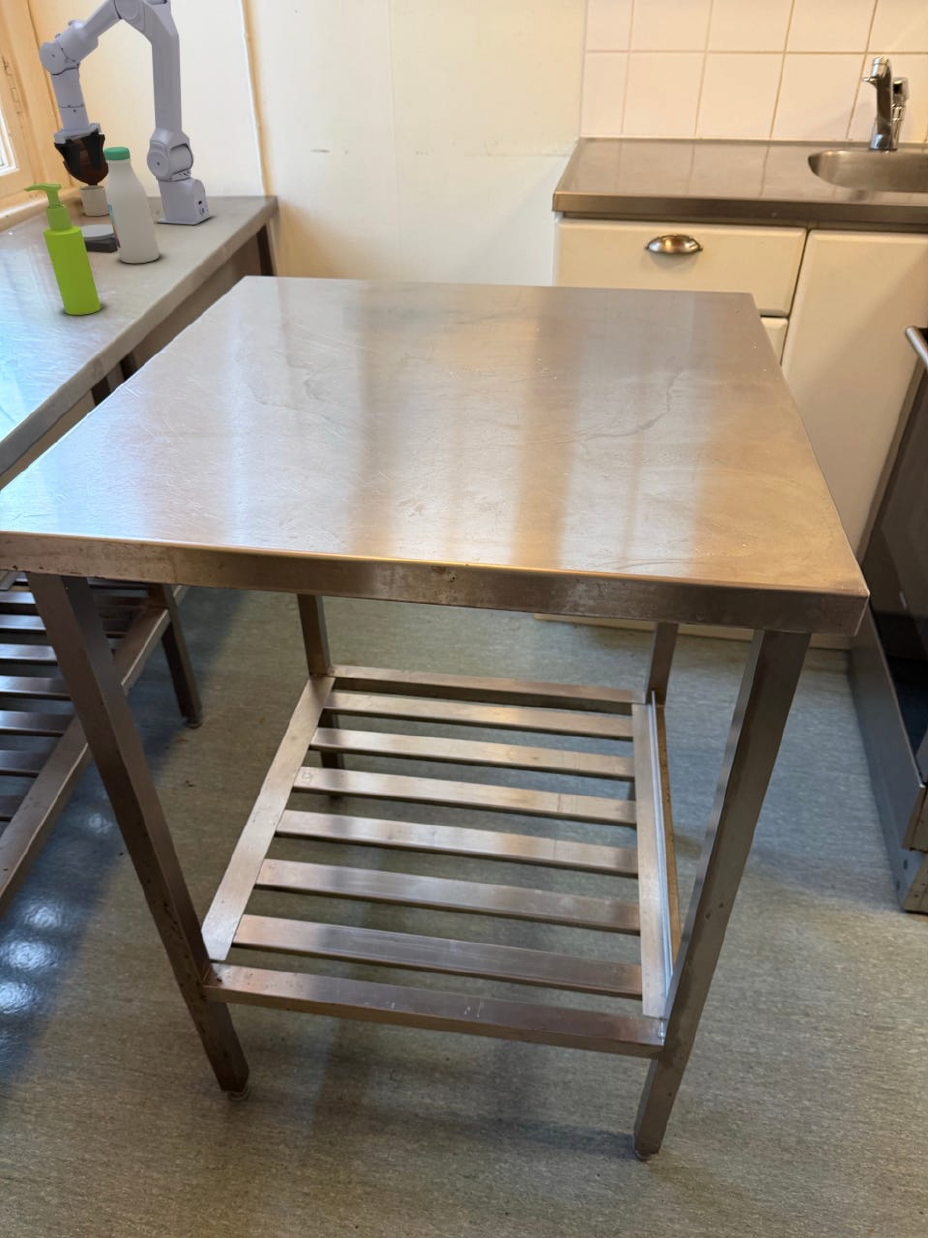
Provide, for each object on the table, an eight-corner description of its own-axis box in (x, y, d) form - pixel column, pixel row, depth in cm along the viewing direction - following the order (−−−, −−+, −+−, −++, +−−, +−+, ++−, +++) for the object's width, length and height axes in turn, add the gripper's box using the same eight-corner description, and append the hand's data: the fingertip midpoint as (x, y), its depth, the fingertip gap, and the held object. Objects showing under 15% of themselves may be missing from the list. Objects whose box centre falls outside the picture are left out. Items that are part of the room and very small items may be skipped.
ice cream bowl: (106, 207, 215) (90, 137, 206) (64, 205, 217) (46, 136, 208) (128, 197, 223) (113, 129, 214) (88, 196, 225) (71, 128, 216)
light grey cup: (115, 210, 212) (109, 185, 209) (101, 216, 208) (95, 191, 205) (94, 209, 214) (88, 184, 210) (80, 215, 209) (74, 189, 206)
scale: (140, 238, 192) (137, 225, 191) (110, 252, 184) (107, 239, 182) (88, 234, 195) (85, 222, 194) (56, 248, 187) (53, 235, 185)
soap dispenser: (67, 303, 158) (33, 180, 146) (105, 303, 158) (74, 180, 146) (54, 314, 154) (17, 188, 141) (93, 314, 153) (60, 188, 141)
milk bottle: (167, 254, 182) (145, 145, 170) (145, 265, 176) (120, 153, 164) (135, 251, 184) (111, 143, 172) (112, 262, 178) (85, 150, 166)
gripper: (76, 100, 204) (91, 165, 212) (35, 109, 193) (53, 178, 201) (102, 101, 202) (117, 167, 210) (63, 110, 191) (80, 180, 199)
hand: (88, 172), depth 206 cm, fingers open, 7 cm apart
